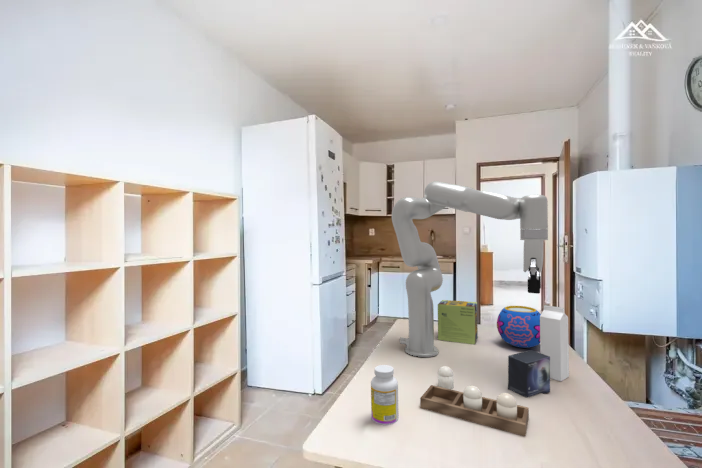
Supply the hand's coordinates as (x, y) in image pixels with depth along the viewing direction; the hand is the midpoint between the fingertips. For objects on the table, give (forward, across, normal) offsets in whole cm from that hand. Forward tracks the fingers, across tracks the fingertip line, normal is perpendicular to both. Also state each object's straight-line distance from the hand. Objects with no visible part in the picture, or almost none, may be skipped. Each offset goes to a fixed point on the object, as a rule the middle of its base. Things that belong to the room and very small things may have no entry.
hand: (534, 290), depth 104 cm
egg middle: (+27, +31, -13) cm, 43 cm away
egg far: (+27, +31, -5) cm, 41 cm away
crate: (+28, +31, -13) cm, 43 cm away
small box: (+28, +10, -1) cm, 30 cm away
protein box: (+28, -29, -30) cm, 51 cm away
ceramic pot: (+28, -32, -6) cm, 43 cm away
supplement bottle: (+28, +44, -31) cm, 60 cm away
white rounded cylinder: (+28, +20, -22) cm, 41 cm away
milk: (+28, -6, +5) cm, 29 cm away
